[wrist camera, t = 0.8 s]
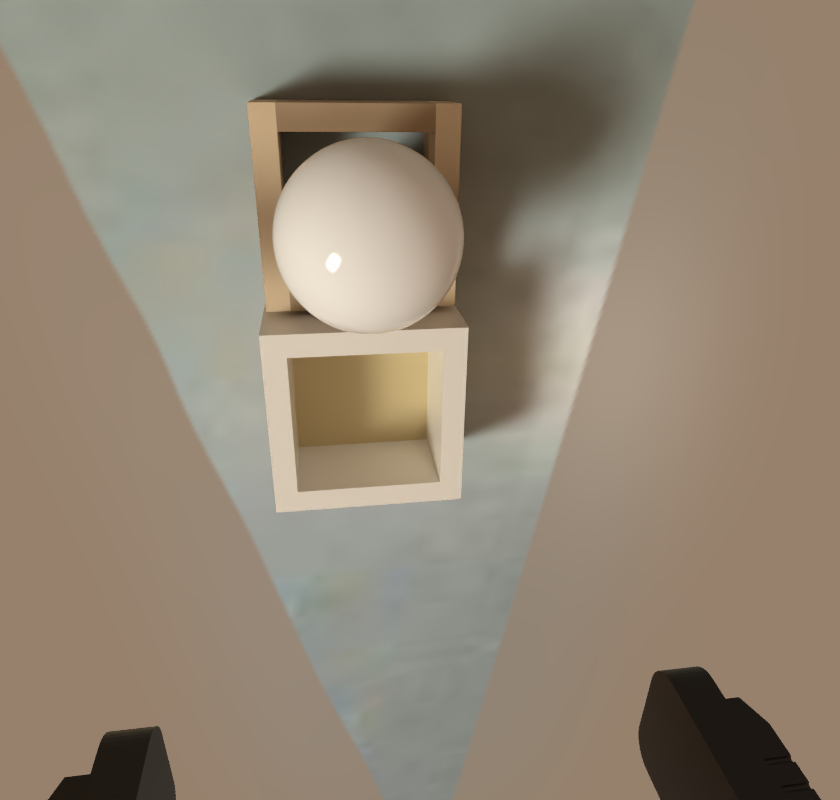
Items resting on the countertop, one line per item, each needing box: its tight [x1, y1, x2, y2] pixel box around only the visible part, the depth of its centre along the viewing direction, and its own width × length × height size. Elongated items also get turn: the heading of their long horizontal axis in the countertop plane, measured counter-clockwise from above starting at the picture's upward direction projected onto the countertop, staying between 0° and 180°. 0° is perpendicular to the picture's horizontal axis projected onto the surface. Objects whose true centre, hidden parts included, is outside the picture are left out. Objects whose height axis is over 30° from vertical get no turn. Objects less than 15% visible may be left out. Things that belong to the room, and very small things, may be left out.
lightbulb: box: [272, 137, 464, 334], centre depth 24 cm, size 6×6×11 cm
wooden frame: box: [247, 99, 462, 312], centre depth 28 cm, size 8×8×3 cm
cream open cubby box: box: [259, 302, 469, 512], centre depth 31 cm, size 8×8×5 cm
